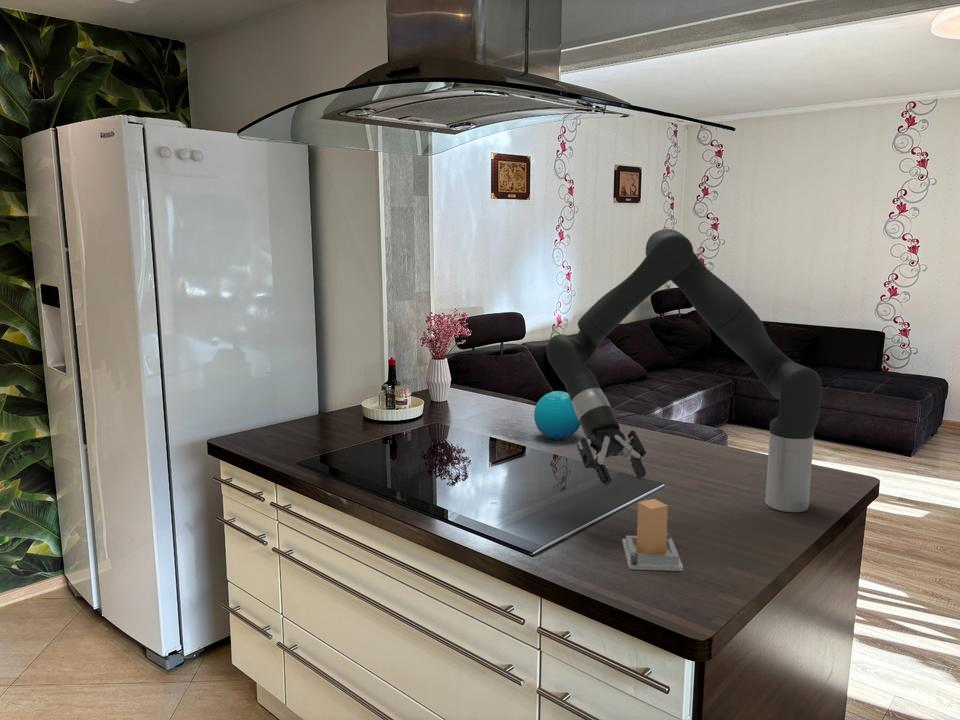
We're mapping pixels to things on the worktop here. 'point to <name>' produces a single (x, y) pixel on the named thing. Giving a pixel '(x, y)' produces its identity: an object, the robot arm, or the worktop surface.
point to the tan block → (652, 527)
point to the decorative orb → (556, 415)
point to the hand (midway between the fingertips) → (625, 480)
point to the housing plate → (651, 556)
